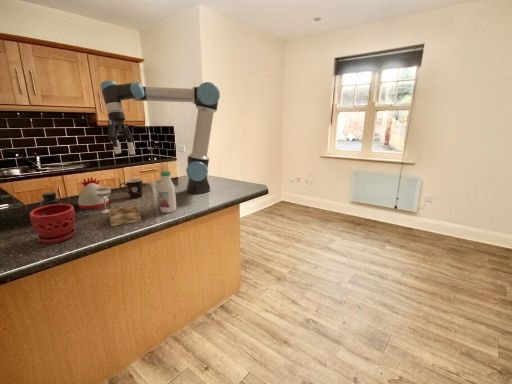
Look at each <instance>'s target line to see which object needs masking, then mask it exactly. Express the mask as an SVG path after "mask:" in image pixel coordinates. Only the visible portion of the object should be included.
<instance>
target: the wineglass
mask: <svg viewBox="0 0 512 384" xmlns="http://www.w3.org/2000/svg"><path fill="white" fill-rule="evenodd" d="M95 190H96V191H95V194H96V196H98V197H99V198H102V199H104V204H105V206H104V209H103V210H101V211H100V213H101V214H106V213H107V214H109V210H110V209H108V208H107V205H106V200H105V199H106V198H107V197H108V198H109V197H110V196H111V195H112V190H111V186H109V185H108V186H107V185H105V186H100V187H97V188H95Z"/></svg>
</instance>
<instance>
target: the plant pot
mask: <svg viewBox="0 0 512 384" xmlns="http://www.w3.org/2000/svg"><path fill="white" fill-rule="evenodd" d="M55 210H56V211H57V212H56V213H54V211H55ZM43 213H46V215H45V216H43ZM50 213H51V214H52V215H49V214H50ZM29 219H30V222H31V225H32V228H33V229H34V231H35V233H37V236H38V237H37V239H38V241H39V242H41V243H45V244H54V243H59V242H65V241H66V240H68V239H70V238H72V237H73V236H74V235H75V234H76V230H77V229H75V226H76V225H75V223H76V213H75V207H74V206H73V205H72V204H68V203H60V204H53V205H47V206H43V207H41V206H40V207H37V208H35V209H33V210H31V211H30V212H29Z"/></svg>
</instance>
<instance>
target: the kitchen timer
mask: <svg viewBox="0 0 512 384" xmlns="http://www.w3.org/2000/svg"><path fill="white" fill-rule="evenodd" d="M99 182H100V180H97V179H96V178H94V179H93V177H92V176H90V177H87V180H86V179H85V178H83V181H82V180H80V183H81V184H82V185H83V187H82V188H81V190H80V192H79V193H78V194H79V195H78V200H77V201H78V202H77V203H78V208H80V209H84V210H86V209H87V210H90V209H97V208H101V207H105V204H104V199H102V198H99V197H98V196H96V194H95V191H96V190H95V188H97V187H101V185H99ZM105 200H106V206H107V205H109V204H110V199H109V197H107V198H106V199H105Z"/></svg>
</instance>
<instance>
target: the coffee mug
mask: <svg viewBox="0 0 512 384" xmlns="http://www.w3.org/2000/svg"><path fill="white" fill-rule="evenodd" d="M125 182H126V183H124V182H123V183H120V184H119V189H120V190H122V192H123V191H124V192H126V193H128V195H129V197H130V198H129V199H134V200H135V199H141V198H142V197H143V178H142V179H141V178H131V179H127V180H126V181H125ZM122 185H125V186H126V187H127V190H125V189H123V188H122V187H121V186H122Z"/></svg>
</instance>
